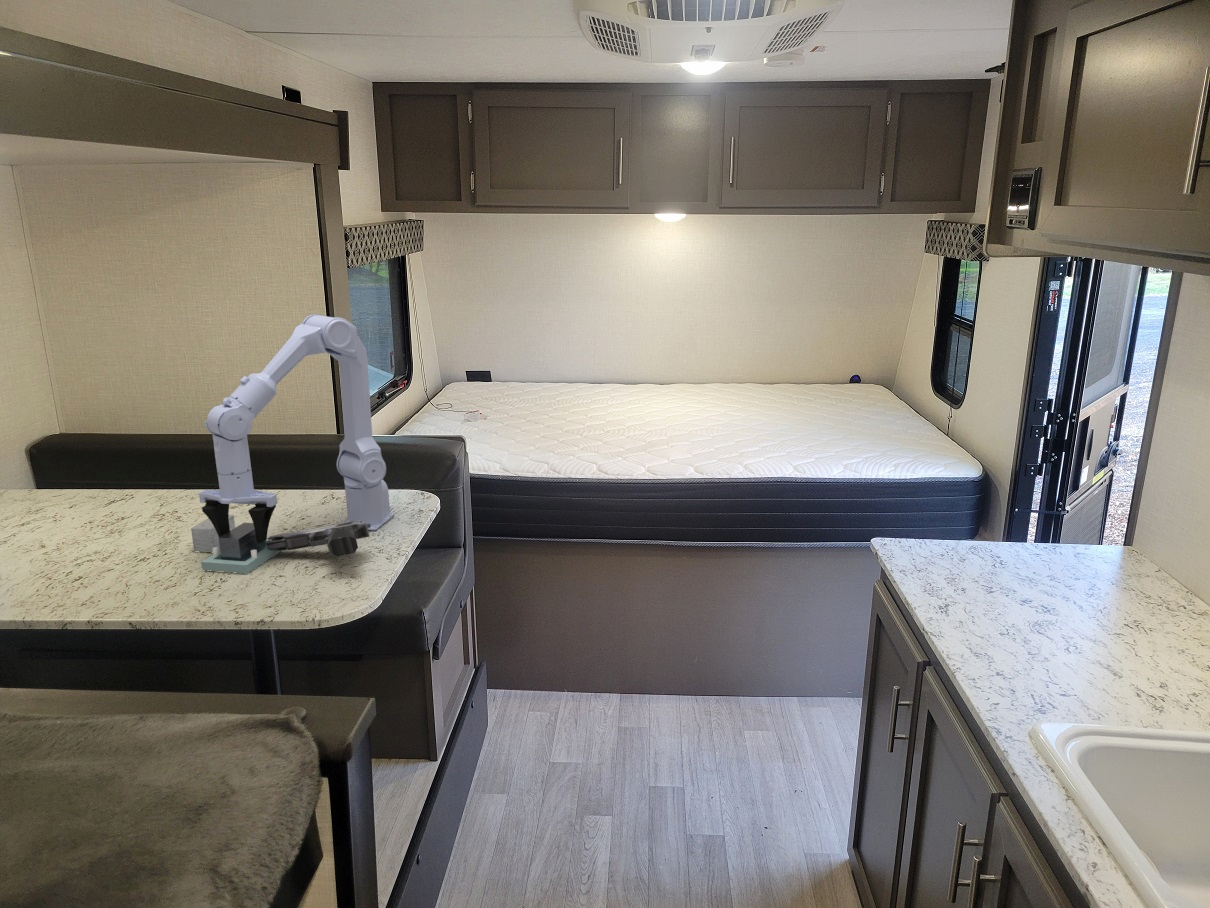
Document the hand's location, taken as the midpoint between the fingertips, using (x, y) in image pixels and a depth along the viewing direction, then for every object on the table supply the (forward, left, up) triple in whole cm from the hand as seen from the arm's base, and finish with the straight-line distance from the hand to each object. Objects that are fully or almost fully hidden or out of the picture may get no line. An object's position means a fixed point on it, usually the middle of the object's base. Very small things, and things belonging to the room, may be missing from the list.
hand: (243, 540), depth 157 cm
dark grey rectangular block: (0, 0, -3) cm, 3 cm away
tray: (0, 0, -4) cm, 4 cm away
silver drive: (-6, -10, -4) cm, 12 cm away
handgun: (0, +14, -1) cm, 15 cm away
